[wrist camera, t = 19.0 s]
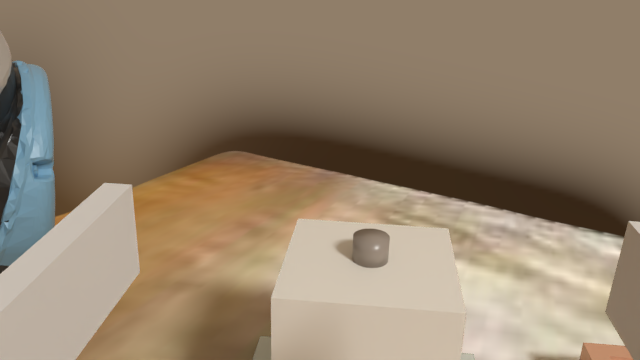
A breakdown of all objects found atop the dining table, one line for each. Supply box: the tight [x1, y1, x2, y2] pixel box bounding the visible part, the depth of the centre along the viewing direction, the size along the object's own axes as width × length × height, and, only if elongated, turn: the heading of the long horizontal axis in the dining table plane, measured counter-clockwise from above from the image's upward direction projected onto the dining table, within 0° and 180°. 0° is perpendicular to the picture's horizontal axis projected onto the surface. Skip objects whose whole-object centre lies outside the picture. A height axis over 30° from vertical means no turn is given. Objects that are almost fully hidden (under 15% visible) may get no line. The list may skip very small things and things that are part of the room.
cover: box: [271, 219, 466, 360], centre depth 35 cm, size 9×9×13 cm
